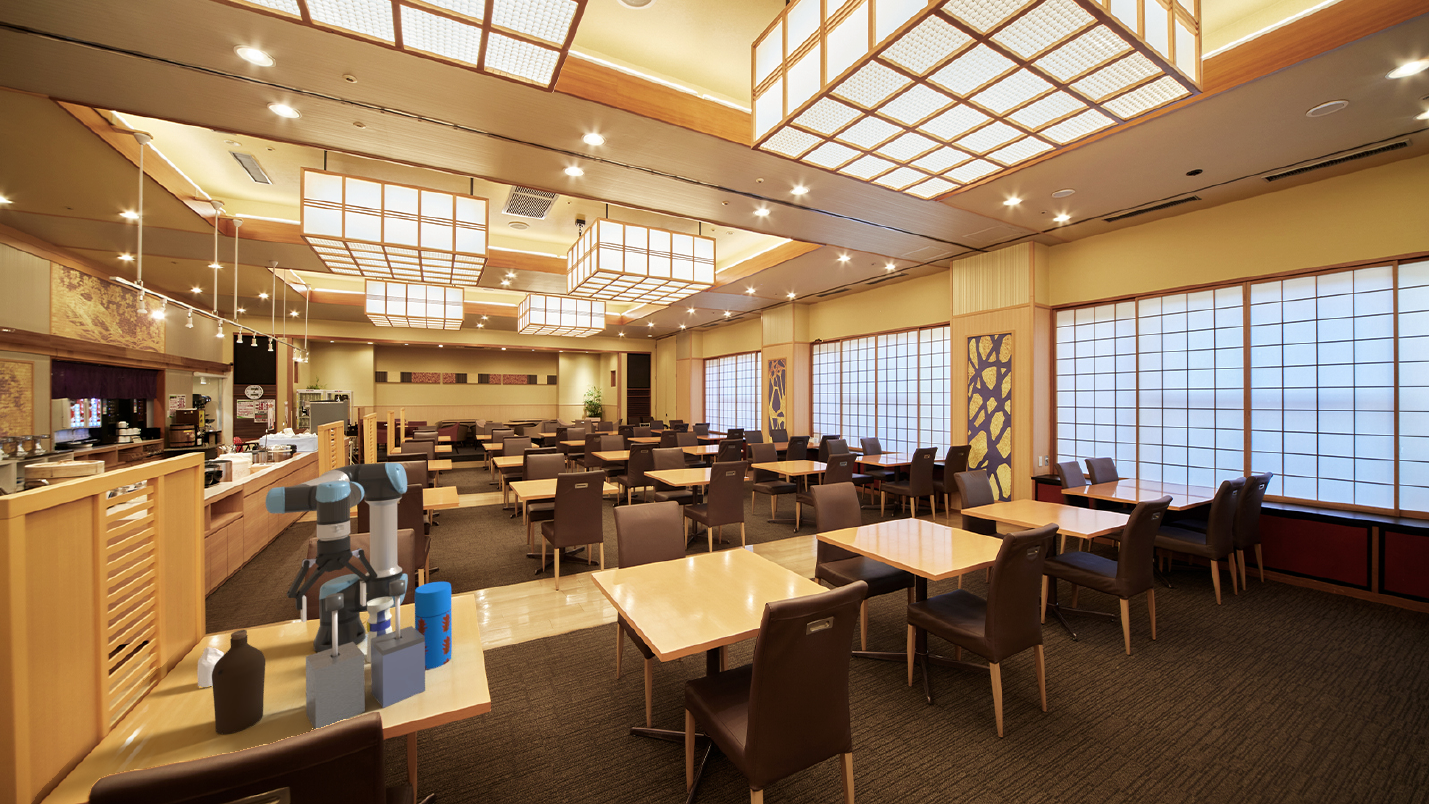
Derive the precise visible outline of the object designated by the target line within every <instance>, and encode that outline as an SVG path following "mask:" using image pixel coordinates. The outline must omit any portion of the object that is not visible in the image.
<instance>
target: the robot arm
mask: <svg viewBox="0 0 1429 804" xmlns="http://www.w3.org/2000/svg"><path fill="white" fill-rule="evenodd" d="M407 491H408V478H407V472H406V470H405V468H404V465H402V464H401V463H399V462H377V463H375V462H374V463H373V462H372V463H356V464H347V465H344V466H340V467H336V468H333V469H331V470H328V471H325V472H324V473H322V474H321V475H320V476H319V477H316V478H313V479H311V480H307V481H305V482H301V483H299V484H295V485H291V486H290V485H289V486H279V487H273V488H271V489H269V491H268V492H267V493H266V496H265V508H266V510H267V512H268V513H270V514H282V515H284V514H288V513H289V514H290V513H291V514H292V513H304V512H305V513H306V512H316V539H318V540H316V556H315V558H310V559H307V558H303V559H302V561H301V567H300V569H299V571H298V573H297V574H296V576H295V577H294V580H293V582H292V583H291V585H290V587H289V589H288V591H286V596H287V598H289V599H295V609H296V611H300V620H301V622H302V623H306V622H307V621H308V619H307V596H305V594H307V592H308V591H309V590H310V589H311V588H312V586H313V585H314V584H315V583H316V582H317V580H318V579H320V577H321V576H322V575H323V574H325V572H327V573H331V572H334V571H341V570H343V569H344V568H345V567H346V568H347V569H348V570H350V571H351V572H352V573H350V574H345V575H341V576H337V577H335V578H332V579H330V580H328V581H326V582H325V583H323V584H322V585H321V586H320V588H319V597H318V600H319V602H318V603H319V626H318V630H317V632H316V635H315V638H314V640H313V651H314V652H315V653H316V652H317V653H318V652H322V651H325V650H328V649H331V648H332V611H331V612H328V611H326V596H328V595H331V594H335V593H343V608H342V609H340V610H337V628H338V646H341V645H344V644H347V643H350V642H354V643H355V645H356V646H357V645H359V643H362V642H363V641H364V640H365V639H366V631H367V630H366V627H365V625H364V623H363V622H362V619H361V616H360V614H361V613H362V612H363V613H364V612H368V611H367V606H368V605H367V602H368V601H370V600H373V599H376V598H381V597H391V596H390V585H389V583H390V582H392V581H395V580H405V594H403V595H400V605H401V604H402V603H403V601H404V599H405V596H406V593H407V588H408V583H409V581H408V580H409V579H408V578H409V577H408V574H407V573H403V568H402V567H401V566H399V565H398V502H400V500H401V499H402V498H403V494H406V492H407ZM363 499H364V502H365V503H367V504H368V506H369V561H368V559H367V557H366V556H365V554H366V553H365V551H364V549H362V548H360V547H358V548H357V549H356V550H353V551H352V549H351V535H350V534H351V509H352V508H353V507H355V506H358V504H360V502H361V501H362V500H363ZM353 556H354V557H355V558H357V559H358V560H359V562H360V563H361V565H363V567H364V569H365V570H366V571H367V572H366V573H363V571H360V569H358V568H357V567H356V566H355V565H353V564H352V563H350V562H349V561H351V559H352V557H353ZM314 564H316V565H317V567H316V568H315V569H314V571H313V573H312V574H311V575H310V576H309V577H308V578H307V579H306V581H305V582H304V583H303V584H302V582H303V581H304V579H305V577H306V575H307V573H308V571H309V569H310V568H312V567H313V565H314ZM301 584H302V585H301ZM300 586H301V587H300ZM366 593H367V594H366ZM392 598H393V601H394V604H393V605H392V606H391V607H390V609H392V608H395V597H392Z"/></svg>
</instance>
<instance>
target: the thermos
mask: <svg viewBox="0 0 1429 804" xmlns="http://www.w3.org/2000/svg"><path fill="white" fill-rule="evenodd" d="M452 621H453V620H452V584H451V583H450V582H448V581H433V582H429V583H425V584H422V585H420V586H418V587H416V588H415V591H414V628H415V629H416V630H417V631H418V632H420V633H421V634H422V635H423V636H425V670H431V669H436V668H439V667H442V666H444V665H446V664H447V663H449V662H450V661H451V659H452V649H453V642H452V641H453V640H452V638H453V636H452V633H453V631H452V630H453V629H452V624H453V623H452Z"/></svg>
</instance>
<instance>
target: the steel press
mask: <svg viewBox="0 0 1429 804" xmlns="http://www.w3.org/2000/svg"><path fill="white" fill-rule="evenodd" d="M305 695H306V696H305V698H306V699H305V706H306V707H305V708H306V710H305V711H306V712H305V713H306V714H305V715H306V717H307V719H308V721H309V723H310V724H311V726H312V728H313V730H314V729H316V728H321V727H324V726H326V725H330V724H332V723H335V722H337V721H340V720H343V719H346V720H348V719H350V718H354V717H355V716H358V715H361V714H363V713H365V710H366V709H365V708H366V707H365V706H366V703H365V698H366V697H365V695H366V694H365V652H363V651H362V650H361V649H360V648H359V646H357V645H355V643H354V642H350V643H347V644H344V645H341V646H338V656H336V657H333V658H332V648H331V649H328V650H325V651H322V652H317V653H316V652H315V653H313V654H310V655H309V654H308V655H306V656H305Z"/></svg>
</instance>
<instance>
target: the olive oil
mask: <svg viewBox="0 0 1429 804" xmlns="http://www.w3.org/2000/svg"><path fill="white" fill-rule="evenodd" d="M247 633H248V630H246V629H239V630H236V631H234V632H232V633H231V634H230V647H229V649H228V650H227V651H226V652H225V653H224V655H223V656H222V657H221V658H220V659H219V660H218V662H217V663H216V664H215V666H214V669H213V672H212V685H213V687H212V695H213V706H214V722H215V723H214V724H215V725H214V726H215V732H216V733H217V734H218V735H230V734H234V733H235V734H236V733H238V732H241V731H243V730H244V731H245V730H247V729H249V728H251V727H252V726H254V725H256V724H257V723H259V722H260V721H261V719H262V718H263V717H264V699H265V697H264V696H265V695H264V694H265V693H264V692H265V678H266V677H265V675H266V657H265V655H264V653H263V652H262V650H260V649H258V648H256V647H254V646H253V645H251V644H249V643H248V634H247Z"/></svg>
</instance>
